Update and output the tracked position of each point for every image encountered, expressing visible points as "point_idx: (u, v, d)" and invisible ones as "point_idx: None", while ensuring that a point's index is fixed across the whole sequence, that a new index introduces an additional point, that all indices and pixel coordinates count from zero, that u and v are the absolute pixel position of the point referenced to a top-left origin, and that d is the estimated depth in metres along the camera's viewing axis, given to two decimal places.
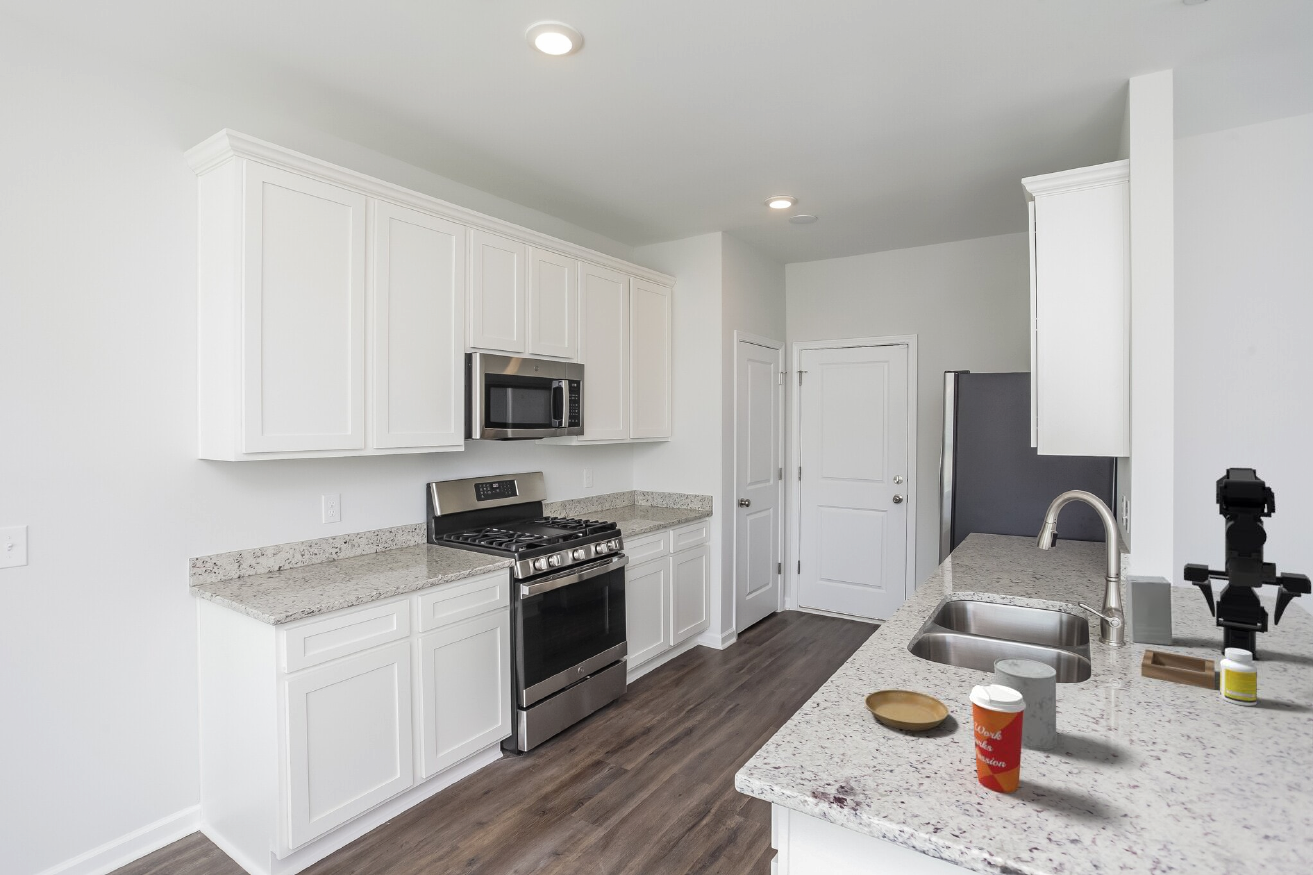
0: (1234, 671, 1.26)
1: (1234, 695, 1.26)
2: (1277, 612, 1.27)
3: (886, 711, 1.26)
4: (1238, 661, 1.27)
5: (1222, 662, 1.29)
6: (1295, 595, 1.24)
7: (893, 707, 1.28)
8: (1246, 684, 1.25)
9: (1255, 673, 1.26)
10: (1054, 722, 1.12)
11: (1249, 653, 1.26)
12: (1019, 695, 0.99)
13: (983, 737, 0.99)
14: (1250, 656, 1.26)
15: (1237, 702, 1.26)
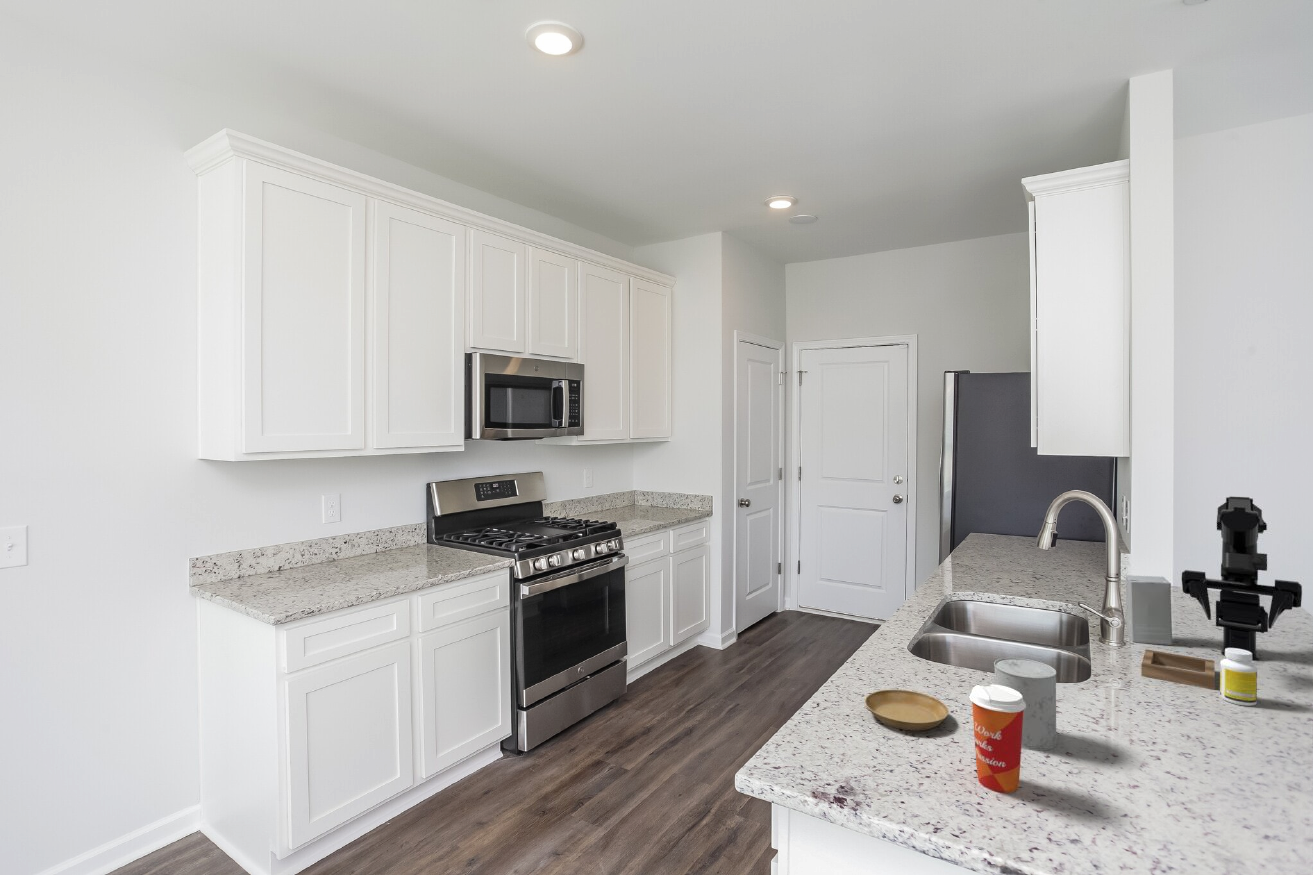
0: (1234, 671, 1.26)
1: (1234, 695, 1.26)
2: (1271, 613, 1.31)
3: (886, 711, 1.26)
4: (1238, 661, 1.27)
5: (1222, 662, 1.29)
6: (1287, 592, 1.31)
7: (893, 707, 1.28)
8: (1246, 684, 1.25)
9: (1255, 673, 1.26)
10: (1054, 722, 1.12)
11: (1249, 653, 1.26)
12: (1019, 695, 0.99)
13: (983, 737, 0.99)
14: (1250, 656, 1.26)
15: (1237, 702, 1.26)
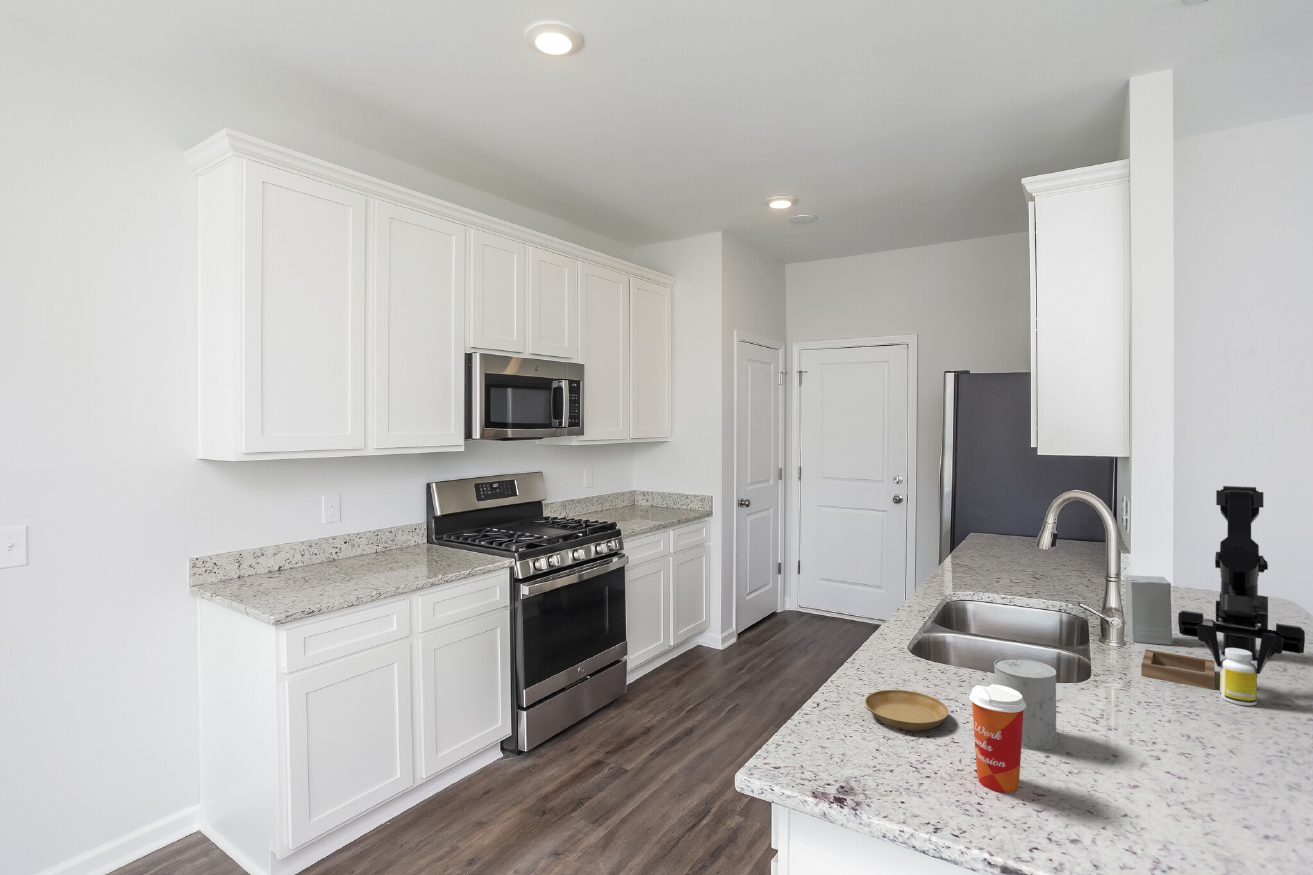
0: (1234, 671, 1.26)
1: (1234, 695, 1.26)
2: (1260, 658, 1.26)
3: (886, 712, 1.26)
4: (1238, 661, 1.27)
5: (1222, 662, 1.29)
6: (1276, 636, 1.25)
7: (893, 707, 1.28)
8: (1246, 684, 1.25)
9: (1255, 673, 1.26)
10: (1054, 722, 1.12)
11: (1249, 653, 1.26)
12: (1019, 695, 0.99)
13: (983, 737, 0.99)
14: (1250, 656, 1.26)
15: (1236, 702, 1.26)
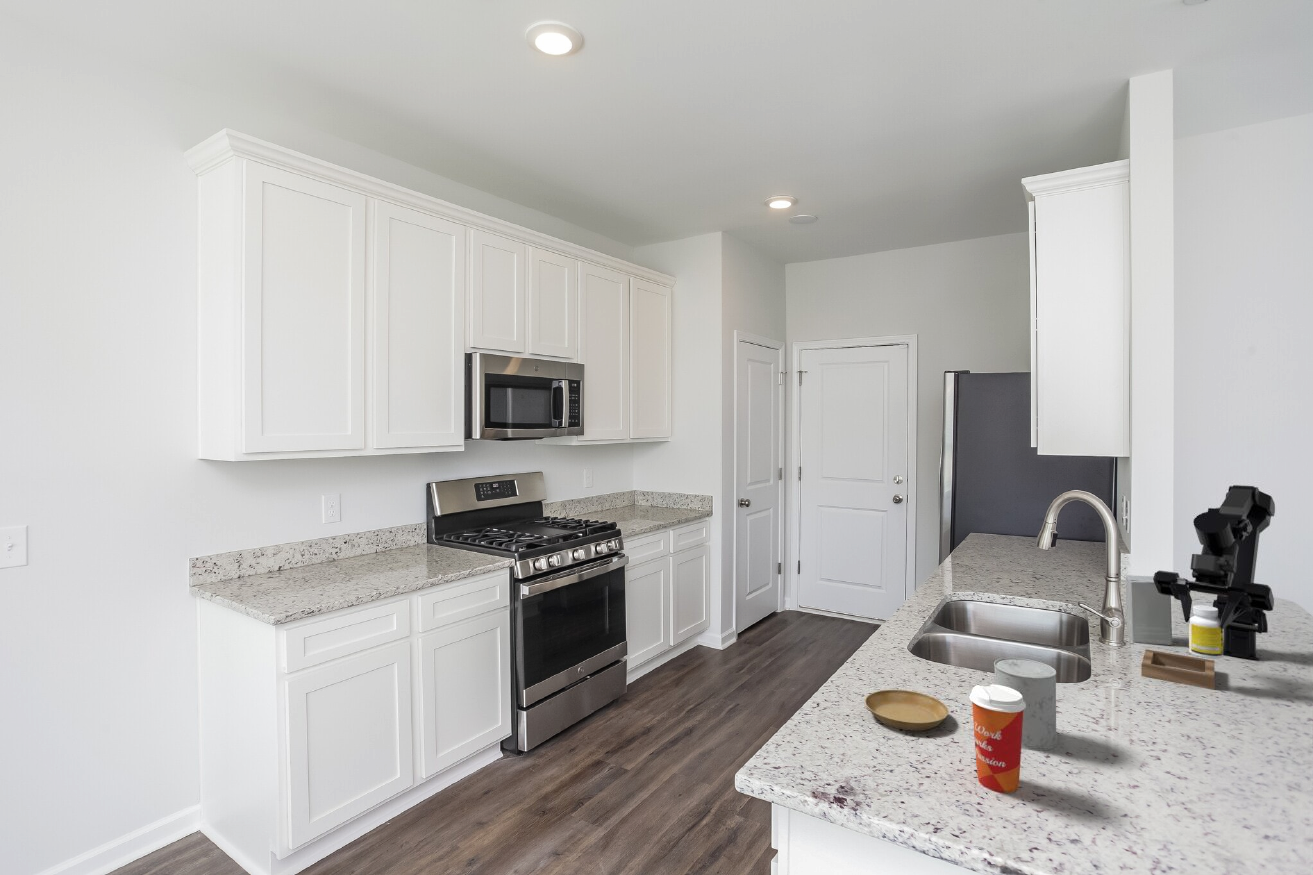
0: (1199, 626, 1.33)
1: (1199, 649, 1.33)
2: (1224, 614, 1.32)
3: (886, 712, 1.26)
4: (1203, 616, 1.33)
5: (1190, 618, 1.36)
6: (1241, 593, 1.31)
7: (893, 707, 1.28)
8: (1210, 638, 1.32)
9: (1219, 628, 1.32)
10: (1054, 722, 1.12)
11: (1214, 609, 1.33)
12: (1019, 695, 0.99)
13: (983, 737, 0.99)
14: (1215, 612, 1.32)
15: (1201, 655, 1.33)
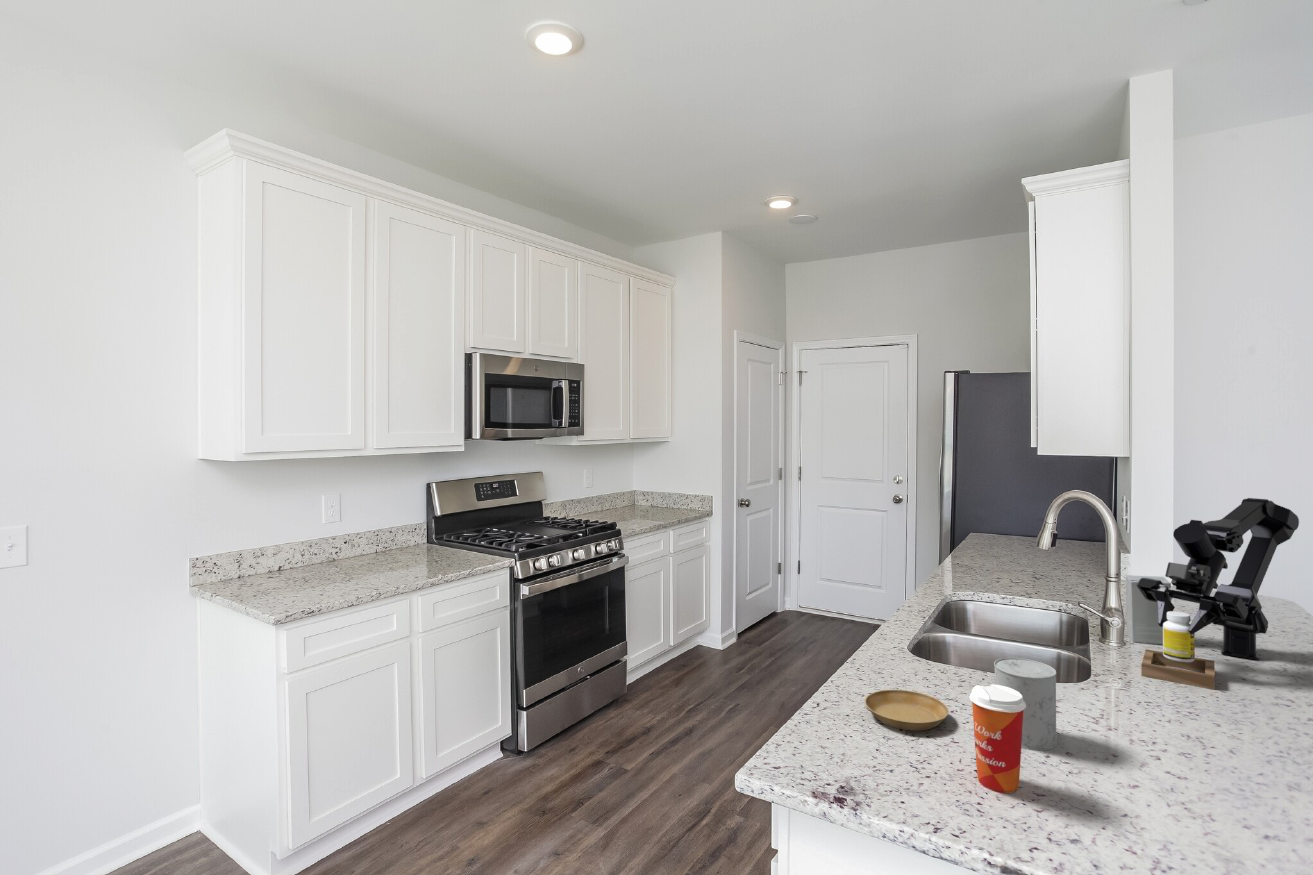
0: (1169, 630, 1.41)
1: (1169, 651, 1.41)
2: (1194, 620, 1.39)
3: (886, 712, 1.26)
4: (1174, 622, 1.41)
5: (1163, 623, 1.43)
6: (1211, 601, 1.37)
7: (893, 707, 1.28)
8: (1178, 642, 1.40)
9: (1189, 633, 1.39)
10: (1054, 722, 1.12)
11: (1184, 615, 1.40)
12: (1019, 695, 0.99)
13: (983, 737, 0.99)
14: (1185, 618, 1.40)
15: (1171, 658, 1.41)
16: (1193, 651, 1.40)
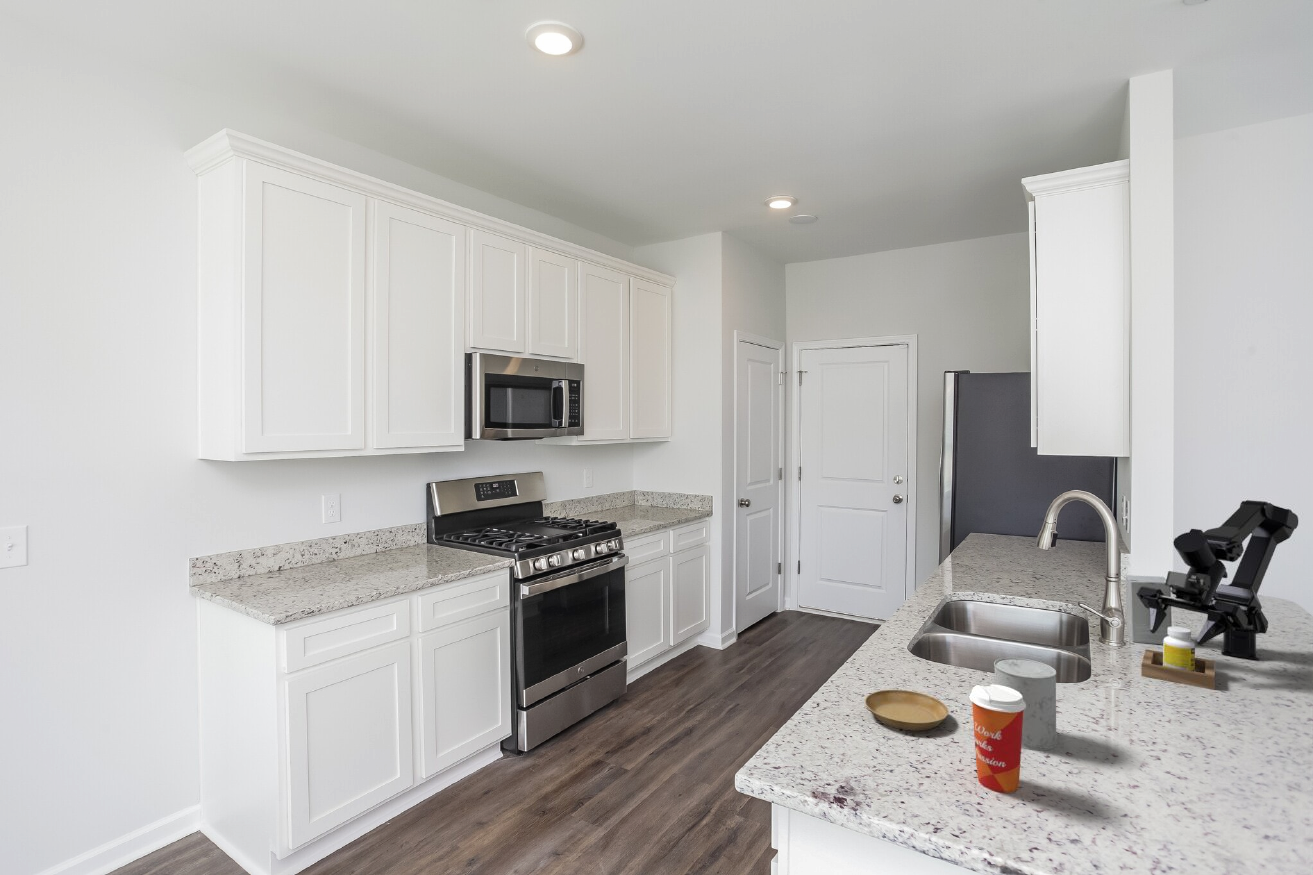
0: (1169, 645, 1.41)
1: None
2: (1202, 631, 1.37)
3: (886, 712, 1.26)
4: (1174, 637, 1.41)
5: (1164, 638, 1.43)
6: (1220, 612, 1.36)
7: (893, 707, 1.28)
8: (1179, 658, 1.40)
9: (1189, 649, 1.39)
10: (1054, 722, 1.12)
11: (1185, 631, 1.40)
12: (1019, 695, 0.99)
13: (983, 737, 0.99)
14: (1186, 634, 1.40)
15: None
16: (1193, 667, 1.40)
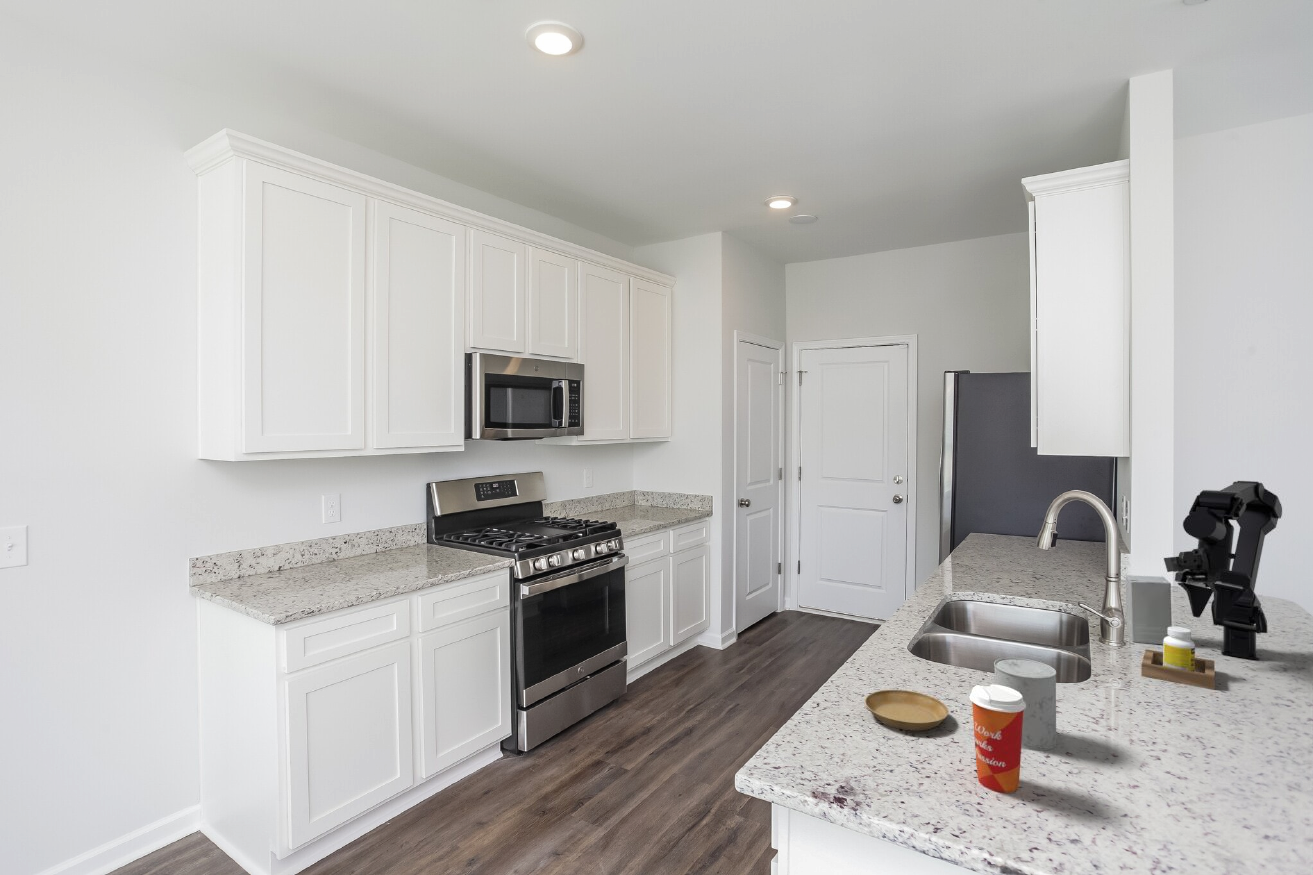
0: (1169, 645, 1.41)
1: None
2: (1215, 605, 1.38)
3: (886, 712, 1.26)
4: (1174, 637, 1.41)
5: (1164, 638, 1.43)
6: (1212, 583, 1.37)
7: (893, 707, 1.28)
8: (1179, 658, 1.40)
9: (1189, 649, 1.39)
10: (1054, 722, 1.12)
11: (1186, 631, 1.40)
12: (1019, 695, 0.99)
13: (983, 737, 0.99)
14: (1186, 634, 1.40)
15: None
16: (1193, 667, 1.40)
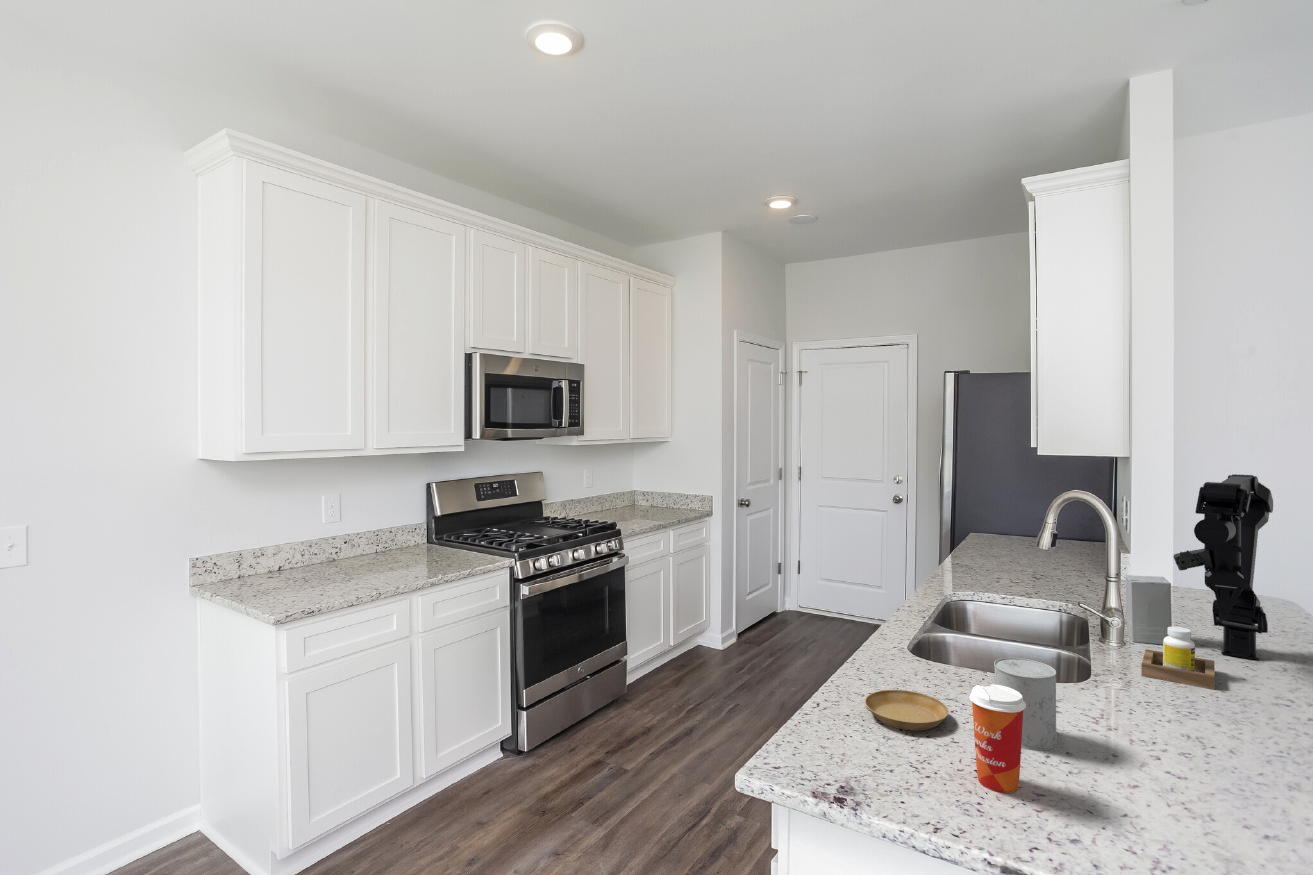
0: (1169, 645, 1.41)
1: None
2: None
3: (886, 712, 1.26)
4: (1175, 637, 1.41)
5: (1164, 638, 1.43)
6: (1206, 585, 1.39)
7: (893, 707, 1.28)
8: (1179, 658, 1.40)
9: (1189, 649, 1.39)
10: (1054, 722, 1.12)
11: (1186, 631, 1.40)
12: (1019, 695, 0.99)
13: (983, 737, 0.99)
14: (1186, 633, 1.40)
15: None
16: (1193, 667, 1.40)
